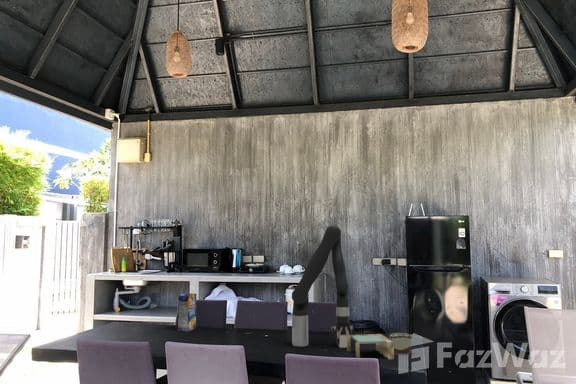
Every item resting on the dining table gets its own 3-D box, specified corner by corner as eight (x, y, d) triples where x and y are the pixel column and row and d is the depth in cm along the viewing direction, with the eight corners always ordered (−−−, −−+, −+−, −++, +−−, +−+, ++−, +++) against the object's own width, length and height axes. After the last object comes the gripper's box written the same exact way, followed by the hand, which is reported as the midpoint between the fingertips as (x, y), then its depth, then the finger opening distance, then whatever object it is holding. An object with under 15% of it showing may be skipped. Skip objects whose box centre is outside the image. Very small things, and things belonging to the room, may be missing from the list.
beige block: (340, 347, 245) (339, 336, 246) (338, 345, 250) (337, 335, 250) (348, 347, 245) (348, 336, 246) (346, 345, 250) (346, 334, 251)
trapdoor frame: (356, 360, 218) (356, 343, 219) (346, 350, 238) (346, 334, 239) (394, 359, 220) (393, 342, 221) (381, 349, 240) (380, 333, 241)
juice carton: (186, 327, 304) (187, 293, 307) (195, 328, 303) (196, 293, 305) (177, 331, 293) (178, 295, 296) (187, 331, 291) (188, 295, 294)
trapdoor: (359, 343, 222) (359, 341, 222) (352, 337, 236) (352, 336, 236) (385, 342, 224) (385, 340, 224) (376, 337, 237) (376, 335, 238)
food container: (409, 351, 236) (408, 332, 237) (412, 354, 230) (411, 334, 231) (386, 351, 236) (386, 332, 237) (390, 354, 230) (389, 335, 231)
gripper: (331, 316, 245) (332, 346, 243) (356, 315, 247) (357, 346, 245) (329, 314, 253) (329, 343, 251) (352, 313, 254) (353, 342, 252)
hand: (343, 344), depth 248 cm, fingers closed on beige block, 5 cm apart
